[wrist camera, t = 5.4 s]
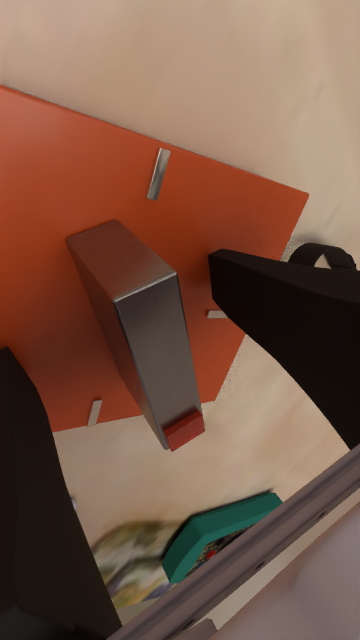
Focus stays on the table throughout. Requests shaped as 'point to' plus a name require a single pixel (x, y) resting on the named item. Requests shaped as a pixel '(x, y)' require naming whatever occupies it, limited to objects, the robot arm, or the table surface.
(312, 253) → the watch
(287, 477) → the table surface
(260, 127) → the table surface
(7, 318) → the orange block
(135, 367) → the grey block with button
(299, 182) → the table surface
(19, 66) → the table surface
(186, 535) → the digital multimeter
